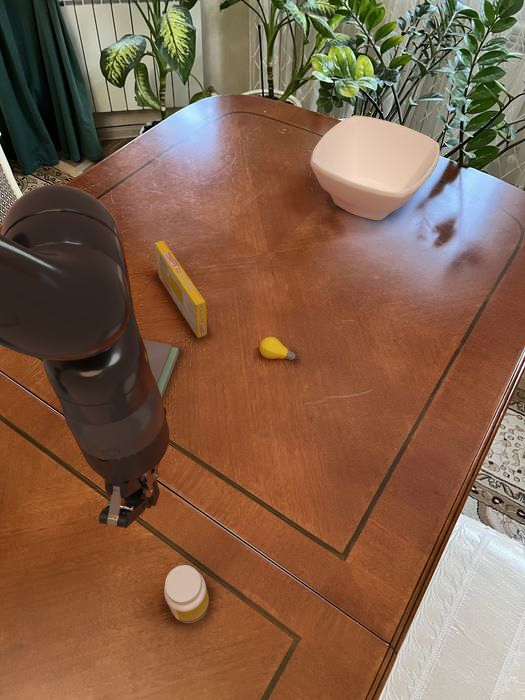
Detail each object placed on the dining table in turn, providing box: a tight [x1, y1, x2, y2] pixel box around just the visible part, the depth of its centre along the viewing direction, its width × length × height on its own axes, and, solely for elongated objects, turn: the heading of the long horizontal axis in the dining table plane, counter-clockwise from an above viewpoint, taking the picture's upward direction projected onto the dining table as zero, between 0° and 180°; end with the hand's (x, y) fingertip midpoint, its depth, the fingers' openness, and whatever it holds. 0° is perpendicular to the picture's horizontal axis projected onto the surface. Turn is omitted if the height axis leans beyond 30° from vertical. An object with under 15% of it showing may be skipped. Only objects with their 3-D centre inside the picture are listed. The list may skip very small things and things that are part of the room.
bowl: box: [309, 114, 441, 221], centre depth 111 cm, size 22×22×12 cm
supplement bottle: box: [163, 564, 210, 624], centre depth 66 cm, size 5×5×8 cm
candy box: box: [154, 239, 208, 339], centre depth 95 cm, size 16×2×8 cm, turn 30°
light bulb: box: [259, 336, 296, 361], centre depth 91 cm, size 3×6×4 cm, turn 76°
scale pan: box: [143, 339, 173, 384], centre depth 87 cm, size 8×8×1 cm
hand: (148, 498), depth 61 cm, fingers closed
